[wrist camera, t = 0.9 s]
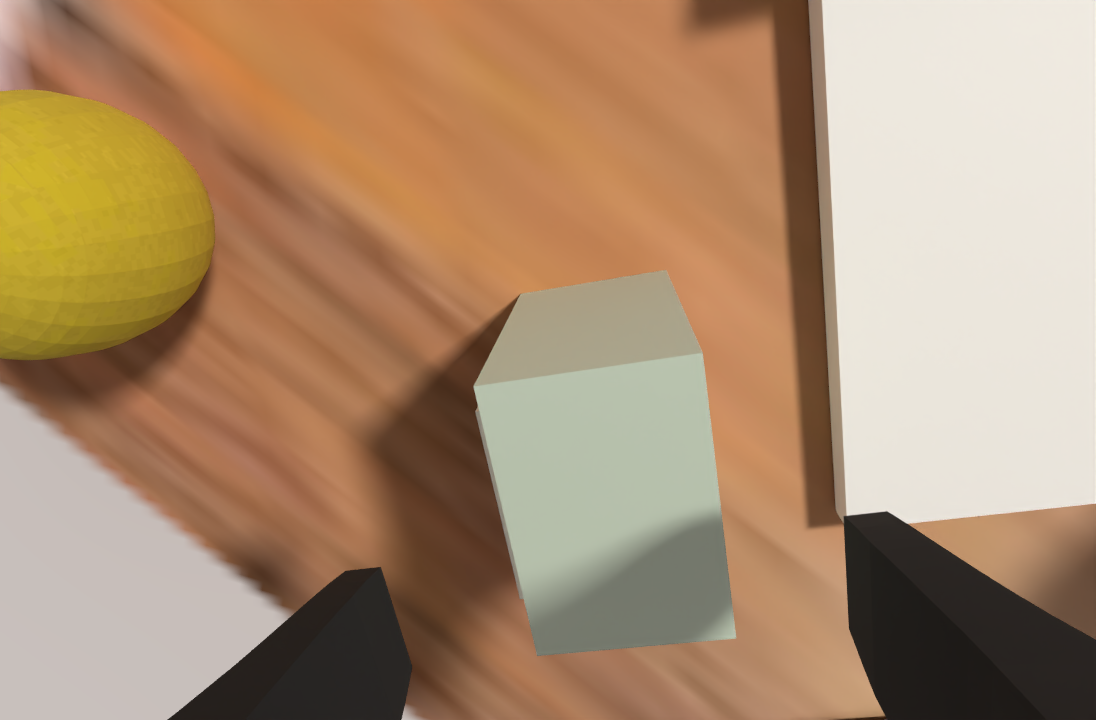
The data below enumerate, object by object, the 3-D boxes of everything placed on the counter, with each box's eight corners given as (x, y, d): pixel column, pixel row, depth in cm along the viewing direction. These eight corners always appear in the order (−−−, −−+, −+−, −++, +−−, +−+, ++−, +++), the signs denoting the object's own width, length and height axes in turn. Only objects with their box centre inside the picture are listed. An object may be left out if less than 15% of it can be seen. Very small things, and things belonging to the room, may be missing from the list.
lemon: (76, 275, 19) (-270, 371, 12) (77, 74, 17) (-336, 30, 10) (261, 325, 19) (37, 453, 12) (282, 129, 17) (30, 130, 10)
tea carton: (666, 269, 18) (702, 353, 11) (691, 466, 20) (736, 638, 13) (505, 296, 18) (448, 389, 12) (544, 485, 20) (515, 657, 14)
